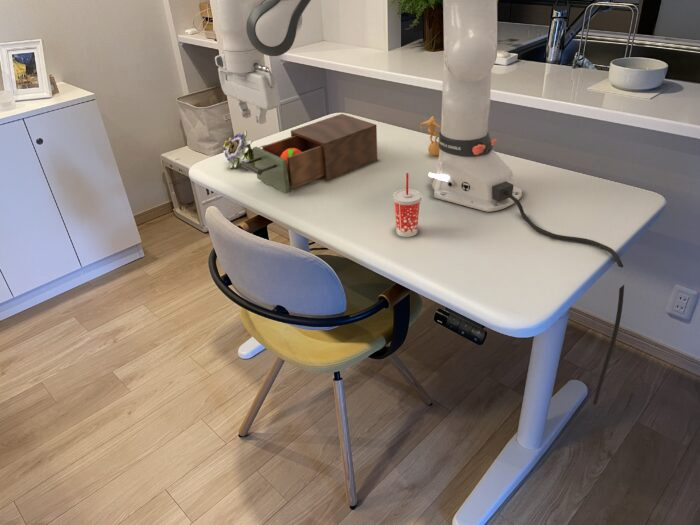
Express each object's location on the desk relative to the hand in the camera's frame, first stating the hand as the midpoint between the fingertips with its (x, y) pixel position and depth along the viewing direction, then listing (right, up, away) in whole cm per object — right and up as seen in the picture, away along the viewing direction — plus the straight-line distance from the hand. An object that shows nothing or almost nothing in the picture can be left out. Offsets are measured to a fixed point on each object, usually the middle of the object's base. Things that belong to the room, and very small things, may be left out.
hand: (253, 120), depth 132 cm
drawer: (+7, -12, +14) cm, 20 cm away
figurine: (+47, -4, +24) cm, 53 cm away
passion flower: (-7, -6, +26) cm, 28 cm away
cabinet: (+19, -6, +23) cm, 31 cm away
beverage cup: (+36, -28, -10) cm, 46 cm away
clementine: (+8, -11, +14) cm, 20 cm away
